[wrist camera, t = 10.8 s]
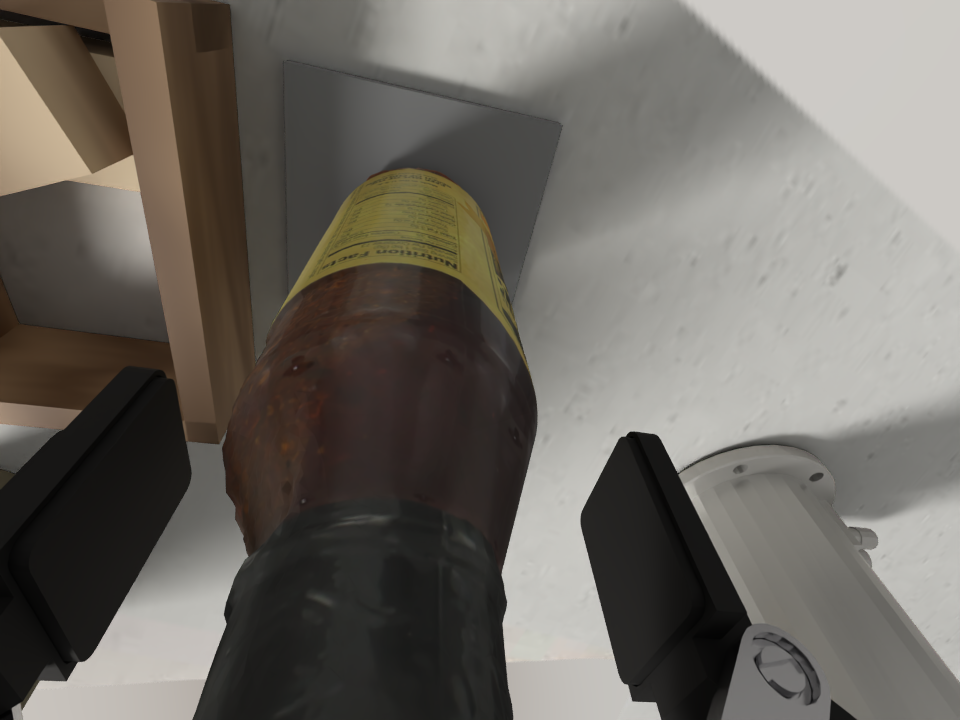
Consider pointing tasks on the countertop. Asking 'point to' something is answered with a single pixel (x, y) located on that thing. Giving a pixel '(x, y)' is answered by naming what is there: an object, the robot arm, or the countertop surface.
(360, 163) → the mat
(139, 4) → the tray
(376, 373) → the sauce bottle
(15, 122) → the offcut top
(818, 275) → the countertop surface
